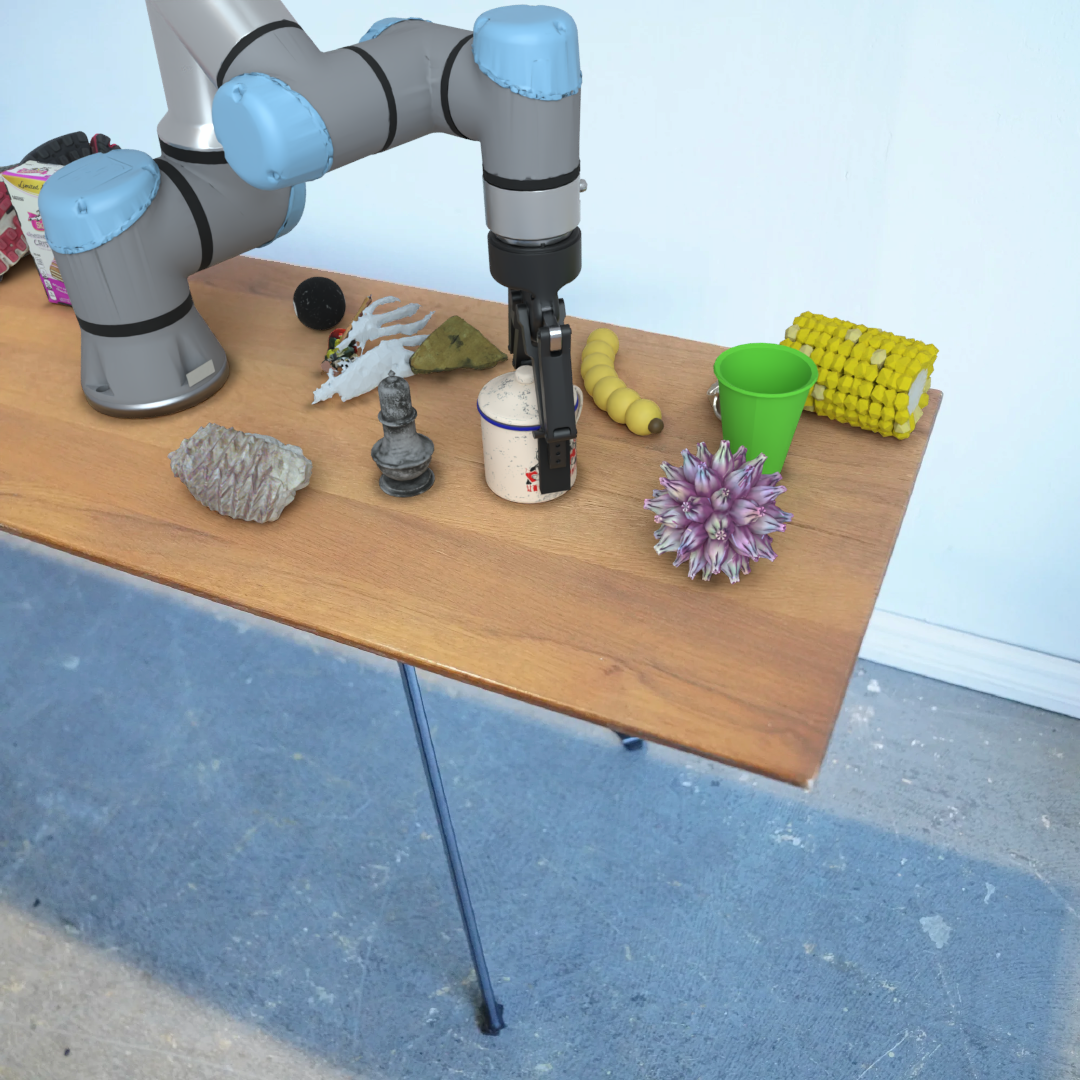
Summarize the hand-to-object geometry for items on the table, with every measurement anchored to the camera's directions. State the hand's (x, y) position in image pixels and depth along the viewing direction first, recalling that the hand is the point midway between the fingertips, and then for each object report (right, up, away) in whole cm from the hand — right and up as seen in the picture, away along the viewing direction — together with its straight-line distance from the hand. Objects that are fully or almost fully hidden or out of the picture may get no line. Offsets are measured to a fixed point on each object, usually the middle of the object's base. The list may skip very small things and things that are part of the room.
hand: (543, 459), depth 95 cm
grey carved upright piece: (-13, -2, +1) cm, 13 cm away
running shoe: (-68, +35, +34) cm, 84 cm away
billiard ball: (-26, +18, +25) cm, 40 cm away
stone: (-9, +10, +17) cm, 21 cm away
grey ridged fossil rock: (-27, -3, +1) cm, 28 cm away
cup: (+20, -1, +1) cm, 20 cm away
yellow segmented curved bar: (+7, +8, +12) cm, 16 cm away
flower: (+14, -10, -9) cm, 20 cm away
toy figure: (-21, +13, +13) cm, 28 cm away
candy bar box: (-56, +22, +32) cm, 68 cm away
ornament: (+21, +6, +8) cm, 23 cm away
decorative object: (-15, +11, +17) cm, 25 cm away
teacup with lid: (0, -1, +2) cm, 2 cm away
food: (+28, +5, +1) cm, 28 cm away
